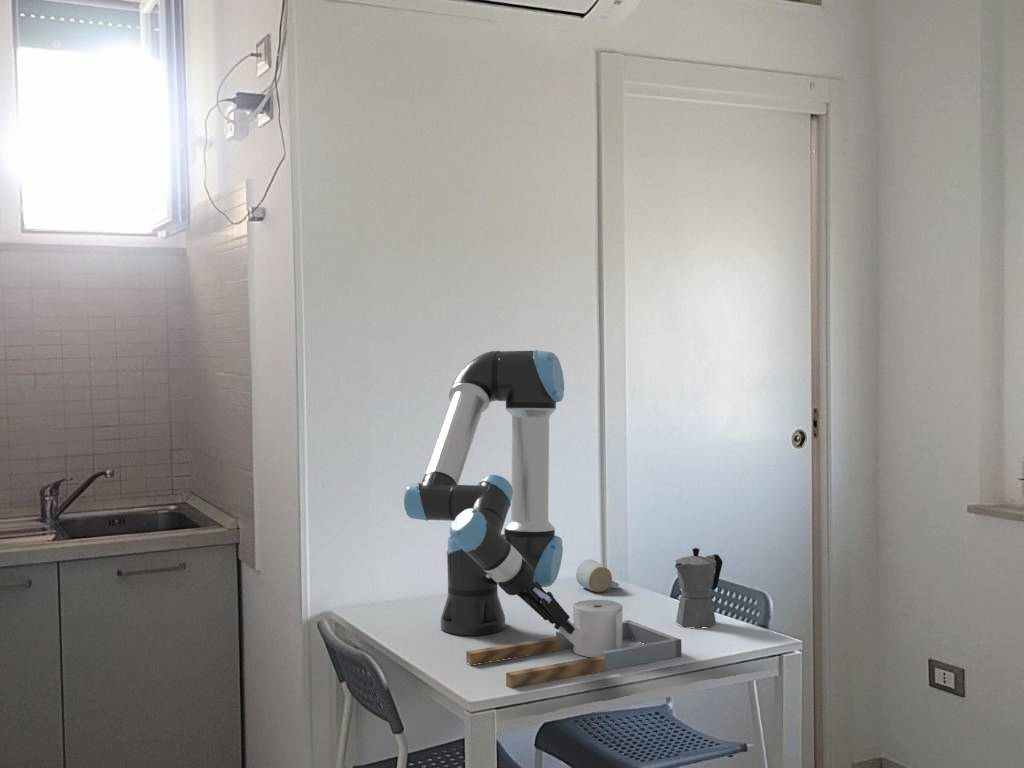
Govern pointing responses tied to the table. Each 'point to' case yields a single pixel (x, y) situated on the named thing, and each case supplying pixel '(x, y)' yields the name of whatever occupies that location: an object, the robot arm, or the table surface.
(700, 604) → the coffeepot
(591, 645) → the toilet tissue
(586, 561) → the ceramic mug
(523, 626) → the table surface
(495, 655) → the slot lane
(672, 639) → the tray
